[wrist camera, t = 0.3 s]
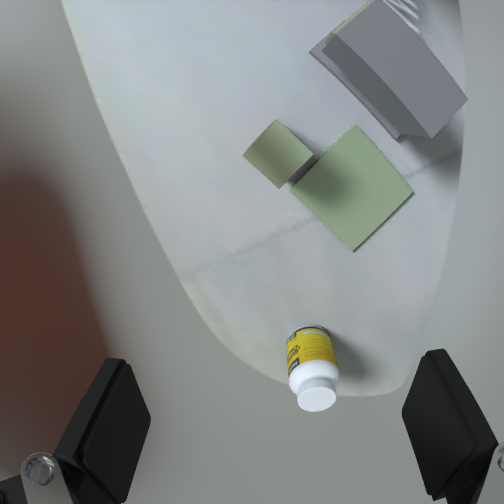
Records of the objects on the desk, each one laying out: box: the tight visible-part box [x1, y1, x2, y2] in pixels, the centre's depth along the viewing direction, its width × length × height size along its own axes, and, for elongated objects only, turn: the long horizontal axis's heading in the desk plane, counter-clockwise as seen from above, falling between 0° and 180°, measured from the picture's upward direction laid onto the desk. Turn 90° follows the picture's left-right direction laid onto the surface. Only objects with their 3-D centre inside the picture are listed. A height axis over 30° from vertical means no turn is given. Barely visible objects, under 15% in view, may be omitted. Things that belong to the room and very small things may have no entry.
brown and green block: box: [243, 120, 313, 189], centre depth 31 cm, size 4×4×8 cm
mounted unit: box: [309, 0, 468, 139], centre depth 26 cm, size 6×14×11 cm, turn 48°
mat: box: [289, 124, 413, 252], centre depth 36 cm, size 11×11×1 cm
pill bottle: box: [286, 325, 339, 412], centre depth 40 cm, size 6×6×12 cm
